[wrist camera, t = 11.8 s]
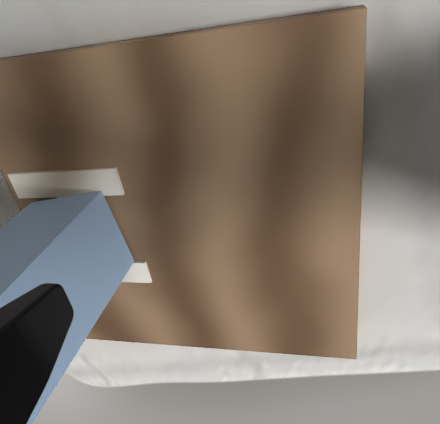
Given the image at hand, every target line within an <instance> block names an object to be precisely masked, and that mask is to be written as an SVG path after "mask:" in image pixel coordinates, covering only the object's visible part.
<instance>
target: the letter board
mask: <svg viewBox="0 0 440 424" xmlns="http://www.w3.org/2000/svg"><path fill="white" fill-rule="evenodd" d="M366 14H367V8H366V7H365V6H364V5H362V6H355V7H348V8H342V9H335V10H328V11H321V12H314V13H308V14H301V15H294V16H287V17H280V18H274V19H267V20H260V21H253V22H246V23H239V24H233V25H226V26H219V27H212V28H205V29H199V30H192V31H185V32H178V33H171V34H165V35H158V36H151V37H144V38H137V39H131V40H124V41H117V42H110V43H103V44H97V45H90V46H83V47H76V48H69V49H62V50H56V51H49V52H42V53H35V54H28V55H22V56H15V57H8V58H1V59H0V169H1V171H2V173H3V175H4V177H5V179H6V182H7V184H8V186H9V188H10V190H11V192H12V194H13V196H14V198H15V200H16V203H17V205H18V207H19V209H20V211H22V210H23V209H24V208H25V207H26V206H28V205H29V204H30V203H31V202H36V201H43V200H49V199H55V198H61V197H67V196H73V195H79V194H85V193H92V192H98V191H102V193H103V195H104V197H105V199H106V201H107V204H108V206H109V208H110V210H111V212H112V214H113V216H114V218H115V221H116V223H117V225H118V227H119V229H120V231H121V233H122V236H123V238H124V240H125V242H126V244H127V246H128V248H129V250H130V253H131V255H132V257H133V259H134V263H133V264H132V266H131V267H130V269H129V271H128V272H127V274H126V275H125V277H124V279H123V280H122V282H121V283H120V285H119V287H118V288H117V290H116V291H115V293H114V294H113V296H112V298H111V299H110V301H109V302H108V304H107V306H106V307H105V309H104V310H103V312H102V313H101V315H100V317H99V318H98V320H97V321H96V323H95V325H94V326H93V328H92V329H91V331H90V332H89V334H88V336H87V337H86V338H87V339H100V340H113V341H126V342H139V343H152V344H165V345H178V346H191V347H204V348H217V349H230V350H243V351H256V352H269V353H282V354H295V355H308V356H321V357H335V358H348V359H356V357H357V322H358V288H359V254H360V220H361V185H362V151H363V117H364V82H365V48H366Z"/></svg>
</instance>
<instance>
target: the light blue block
mask: <svg viewBox="0 0 440 424" xmlns="http://www.w3.org/2000/svg"><path fill="white" fill-rule="evenodd" d="M133 263H134V259H133V257H132V255H131V253H130V250H129V248H128V246H127V244H126V242H125V240H124V238H123V236H122V233H121V231H120V229H119V227H118V225H117V223H116V221H115V218H114V216H113V214H112V212H111V210H110V208H109V206H108V204H107V201H106V199H105V197H104V195H103V193H102V191H98V192H92V193H85V194H79V195H73V196H67V197H61V198H55V199H49V200H43V201H36V202H31V203H30V204H29V205H28V206H26V207H25V208H24V209H23V210H22V211H20V212H19V213H18V214H17V215H15V216H14V217H13V218H12V219H11V220H9V221H8V222H7V223H6V224H5V225H3V226H2V227H1V228H0V308H1V307H3V306H4V305H6V304H8V303H9V302H11V301H13V300H15V299H16V298H18V297H20V296H22V295H23V294H25V293H27V292H29V291H30V290H32V289H34V288H36V287H37V286H39V285H41V284H44V283H55V284H60V285H61V286H62V287H63V288H64V290H65V292H66V294H67V297H68V299H69V301H70V303H71V305H72V307H73V311H74V316H73V320H72V323H71V326H70V328H69V331H68V333H67V336H66V338H65V341H64V343H63V346H62V348H61V351H60V353H59V356H58V358H57V361H56V363H55V366H54V368H53V371H52V373H51V376H50V378H49V380H48V382H47V384H46V387H45V389H44V391H43V393H42V395H41V397H40V399H39V401H38V403H37V405H36V407H35V408H34V410H33V412H32V414H31V416H30V418H29V420H28V422H27V424H32V423H33V421H34V419H35V418H36V416H37V415H38V413H39V412H40V410H41V408H42V407H43V405H44V404H45V402H46V401H47V399H48V397H49V396H50V394H51V393H52V391H53V389H54V388H55V386H56V385H57V383H58V381H59V380H60V378H61V377H62V375H63V374H64V372H65V371H66V369H67V367H68V366H69V364H70V363H71V361H72V359H73V358H74V356H75V355H76V353H77V351H78V350H79V348H80V347H81V345H82V344H83V342H84V340H85V339H86V337H87V336H88V334H89V332H90V331H91V329H92V328H93V326H94V325H95V323H96V321H97V320H98V318H99V317H100V315H101V313H102V312H103V310H104V309H105V307H106V306H107V304H108V302H109V301H110V299H111V298H112V296H113V294H114V293H115V291H116V290H117V288H118V287H119V285H120V283H121V282H122V280H123V279H124V277H125V275H126V274H127V272H128V271H129V269H130V267H131V266H132V264H133Z"/></svg>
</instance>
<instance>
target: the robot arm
mask: <svg viewBox="0 0 440 424" xmlns="http://www.w3.org/2000/svg"><path fill="white" fill-rule="evenodd" d="M73 316H74V311H73V307H72V305H71V303H70V301H69V299H68V297H67V294H66V292H65V290H64V288H63V287H62V286H61V285H60V284H55V283H44V284H41V285H39V286H37V287H36V288H34V289H32V290H30V291H29V292H27V293H25V294H23V295H22V296H20V297H18V298H16V299H15V300H13V301H11V302H9V303H8V304H6V305H4V306H3V307H1V308H0V424H27V422H28V420H29V418H30V416H31V414H32V412H33V410H34V408H35V407H36V405H37V403H38V401H39V399H40V397H41V395H42V393H43V391H44V389H45V387H46V384H47V382H48V380H49V378H50V376H51V373H52V371H53V368H54V366H55V363H56V361H57V358H58V356H59V353H60V351H61V348H62V346H63V343H64V341H65V338H66V336H67V333H68V331H69V328H70V326H71V323H72V320H73Z"/></svg>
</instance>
